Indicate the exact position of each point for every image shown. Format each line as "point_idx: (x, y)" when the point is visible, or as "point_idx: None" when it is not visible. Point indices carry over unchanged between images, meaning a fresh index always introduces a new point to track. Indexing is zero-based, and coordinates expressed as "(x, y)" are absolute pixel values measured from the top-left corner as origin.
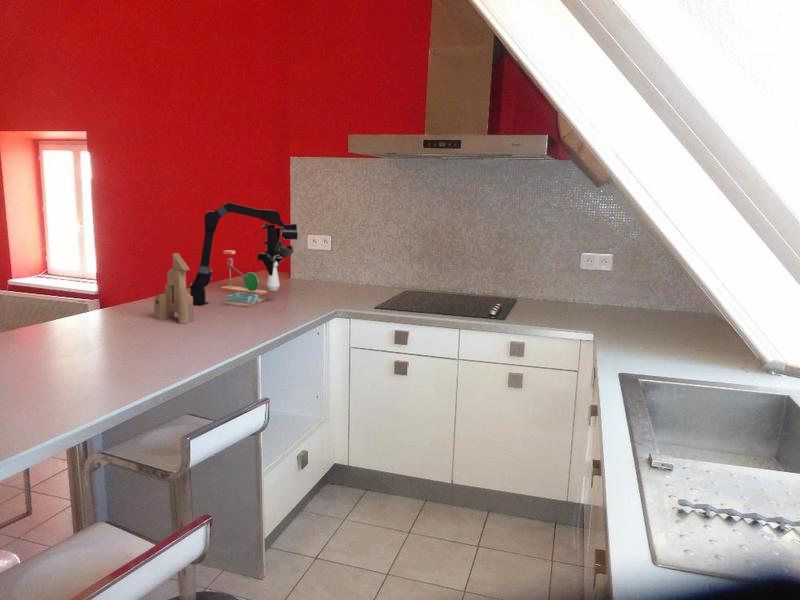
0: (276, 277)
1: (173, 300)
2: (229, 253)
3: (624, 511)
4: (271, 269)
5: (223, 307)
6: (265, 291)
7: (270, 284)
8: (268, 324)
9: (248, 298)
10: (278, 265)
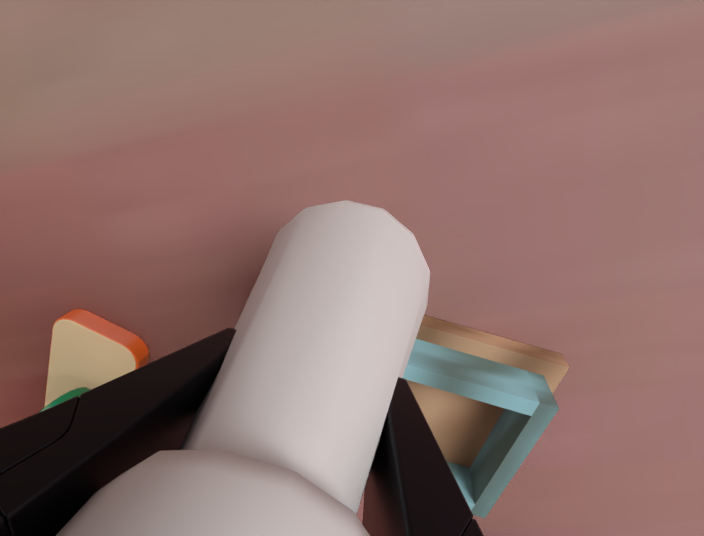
0: (374, 288)
1: None
2: None
3: None
4: (452, 500)
5: (571, 470)
6: (74, 327)
7: (423, 311)
8: None
9: (534, 396)
10: (61, 434)
